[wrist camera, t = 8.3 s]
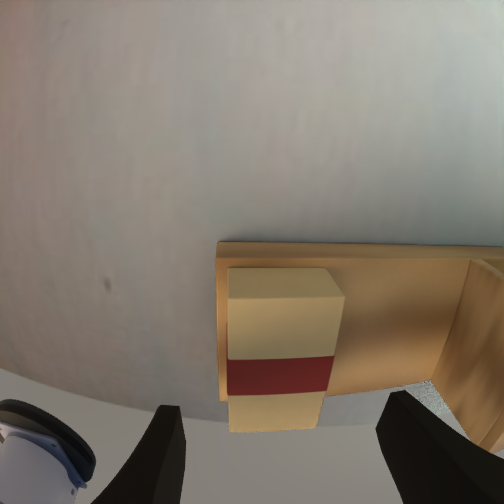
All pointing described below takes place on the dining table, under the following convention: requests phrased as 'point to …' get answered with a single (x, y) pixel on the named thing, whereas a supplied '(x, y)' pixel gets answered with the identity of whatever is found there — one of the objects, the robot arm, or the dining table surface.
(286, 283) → the beige red striped block
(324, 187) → the dining table surface
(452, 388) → the step rack
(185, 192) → the dining table surface
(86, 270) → the dining table surface
